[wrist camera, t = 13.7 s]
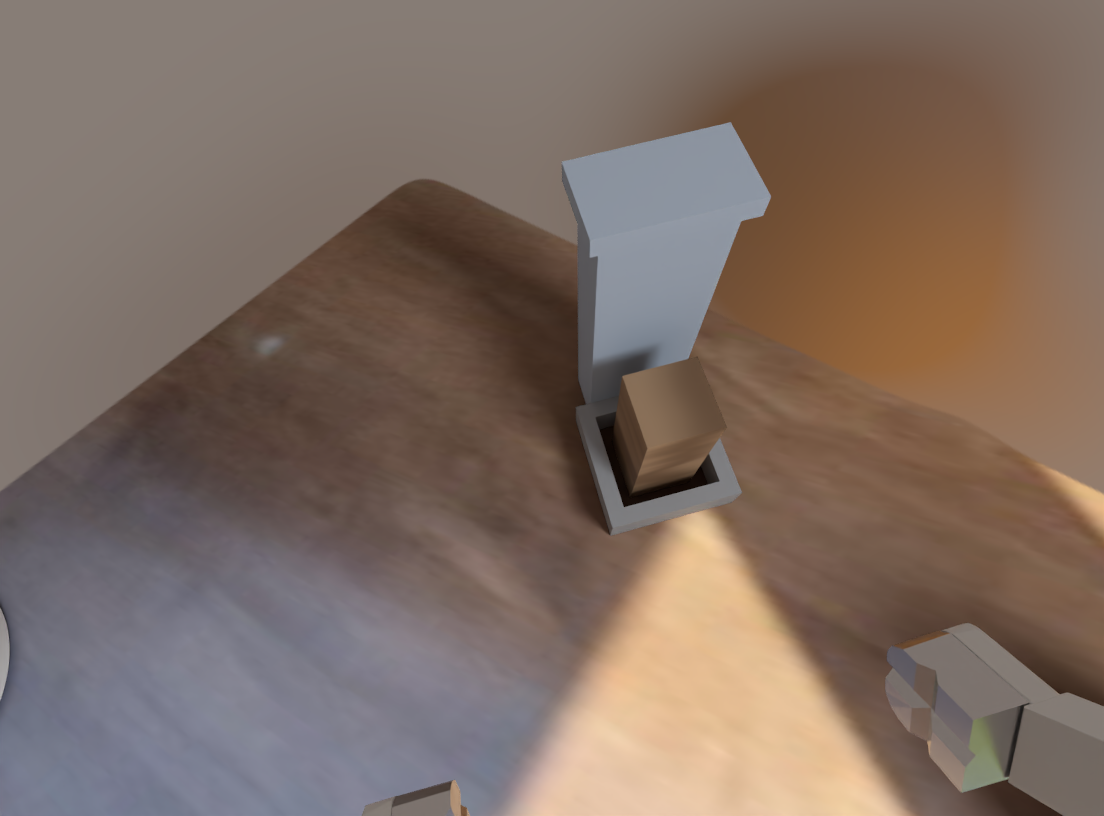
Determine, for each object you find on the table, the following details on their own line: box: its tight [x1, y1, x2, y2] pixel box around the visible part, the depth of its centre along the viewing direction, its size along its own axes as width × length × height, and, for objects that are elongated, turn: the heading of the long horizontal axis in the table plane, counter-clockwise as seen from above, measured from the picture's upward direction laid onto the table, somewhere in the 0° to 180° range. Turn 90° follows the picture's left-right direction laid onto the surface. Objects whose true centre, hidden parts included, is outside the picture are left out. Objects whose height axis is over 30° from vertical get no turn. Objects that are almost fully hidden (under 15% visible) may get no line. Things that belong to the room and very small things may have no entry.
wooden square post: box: [612, 357, 727, 498], centre depth 32 cm, size 4×4×10 cm
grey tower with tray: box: [562, 123, 771, 536], centre depth 29 cm, size 8×12×19 cm
